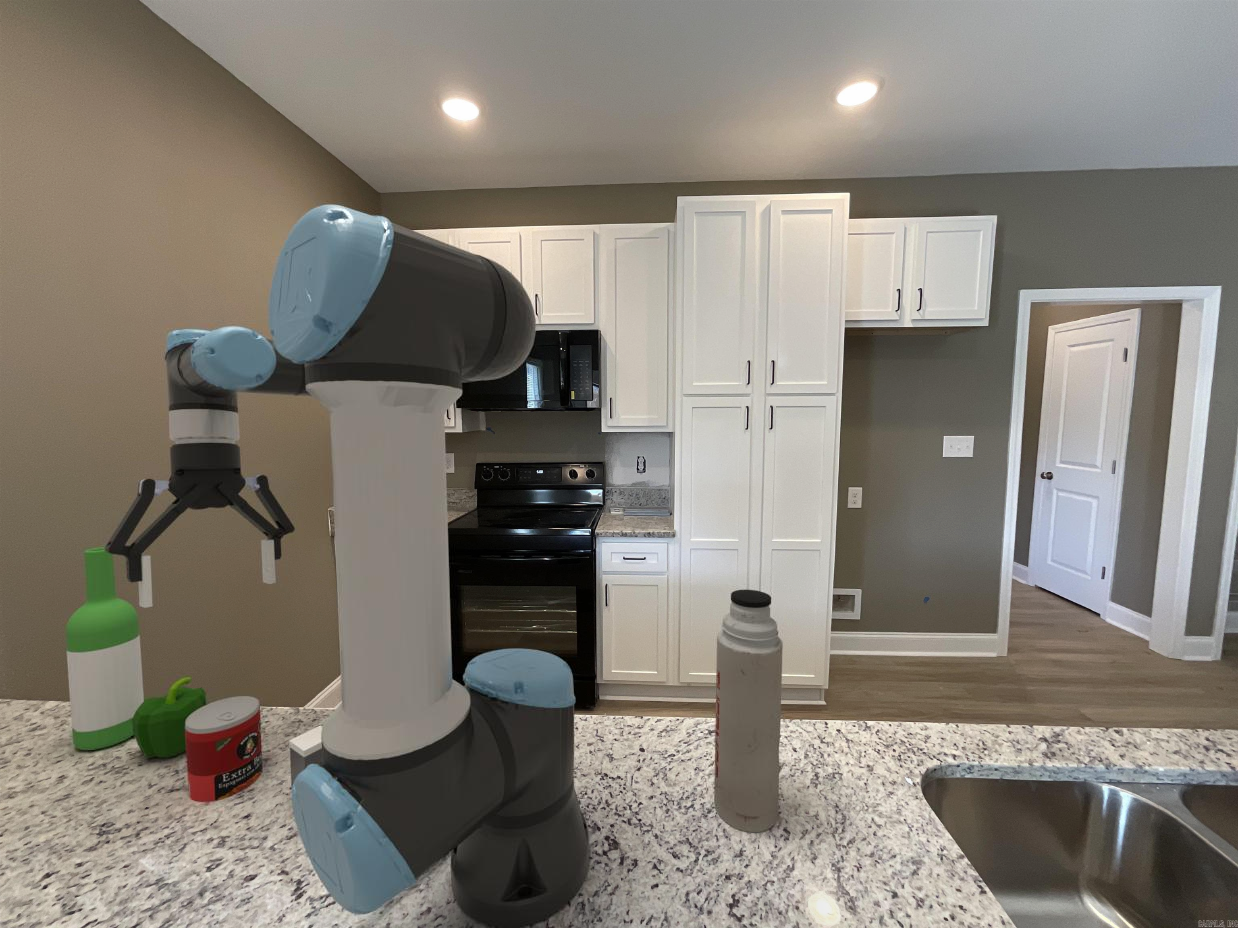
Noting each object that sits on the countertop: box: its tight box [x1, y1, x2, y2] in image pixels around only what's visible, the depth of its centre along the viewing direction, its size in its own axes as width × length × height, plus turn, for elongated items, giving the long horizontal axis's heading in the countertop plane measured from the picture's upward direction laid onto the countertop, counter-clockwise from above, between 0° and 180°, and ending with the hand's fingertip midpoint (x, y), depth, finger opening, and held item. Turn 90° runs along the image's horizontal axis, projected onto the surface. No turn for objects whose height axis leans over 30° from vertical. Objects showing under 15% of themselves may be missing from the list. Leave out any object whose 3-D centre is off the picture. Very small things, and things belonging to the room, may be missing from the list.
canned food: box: [185, 695, 263, 803], centre depth 64 cm, size 8×8×11 cm
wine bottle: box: [65, 546, 145, 751], centre depth 74 cm, size 8×8×30 cm
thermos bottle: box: [713, 589, 784, 833], centre depth 61 cm, size 8×8×28 cm
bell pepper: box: [132, 676, 207, 759], centre depth 72 cm, size 8×8×10 cm
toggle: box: [288, 725, 323, 788], centre depth 61 cm, size 4×4×8 cm
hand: (212, 593), depth 68 cm, fingers open, 13 cm apart
